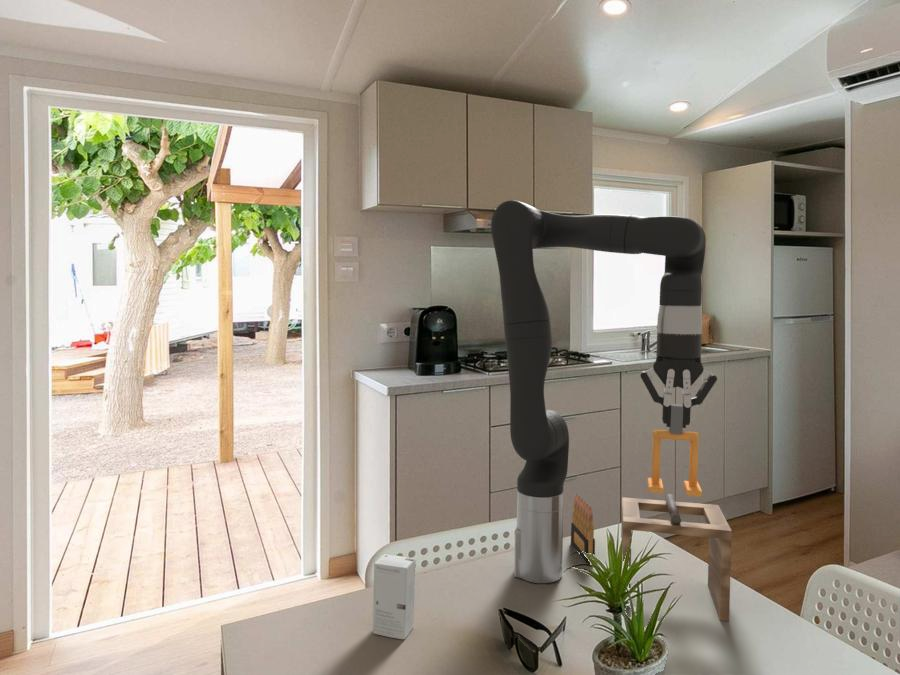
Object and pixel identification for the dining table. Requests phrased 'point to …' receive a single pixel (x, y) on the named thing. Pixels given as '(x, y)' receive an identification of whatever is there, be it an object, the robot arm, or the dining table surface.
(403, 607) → the skincare box
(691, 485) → the orange footed arch
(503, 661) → the dining table surface
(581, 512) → the ammunition clip
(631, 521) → the wooden frame stand
